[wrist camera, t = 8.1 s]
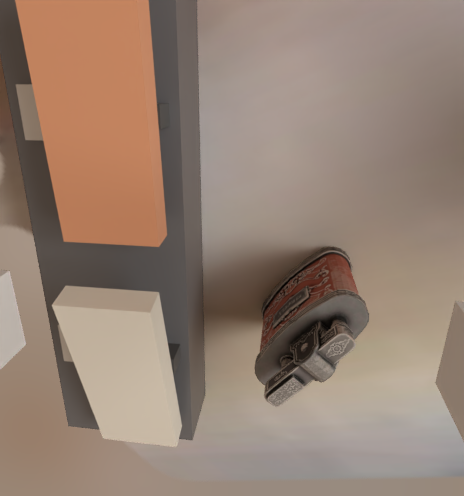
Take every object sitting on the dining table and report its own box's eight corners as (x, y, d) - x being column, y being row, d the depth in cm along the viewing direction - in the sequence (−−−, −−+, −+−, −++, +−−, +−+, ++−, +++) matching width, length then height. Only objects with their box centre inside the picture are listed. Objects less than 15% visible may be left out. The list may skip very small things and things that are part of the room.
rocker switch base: (-32, -512, 18) (-198, -823, 12) (184, -553, 17) (124, -922, 11) (96, 383, 36) (56, 443, 30) (205, 394, 35) (187, 459, 29)
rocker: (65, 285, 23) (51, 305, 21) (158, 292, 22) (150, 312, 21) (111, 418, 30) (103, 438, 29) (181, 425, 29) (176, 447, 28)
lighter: (327, 236, 29) (345, 305, 19) (361, 266, 29) (394, 348, 20) (252, 306, 31) (236, 396, 22) (284, 333, 32) (281, 431, 23)
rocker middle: (28, -38, 18) (5, -46, 17) (145, -42, 17) (131, -51, 16) (77, 230, 24) (63, 241, 22) (167, 235, 23) (159, 246, 21)
